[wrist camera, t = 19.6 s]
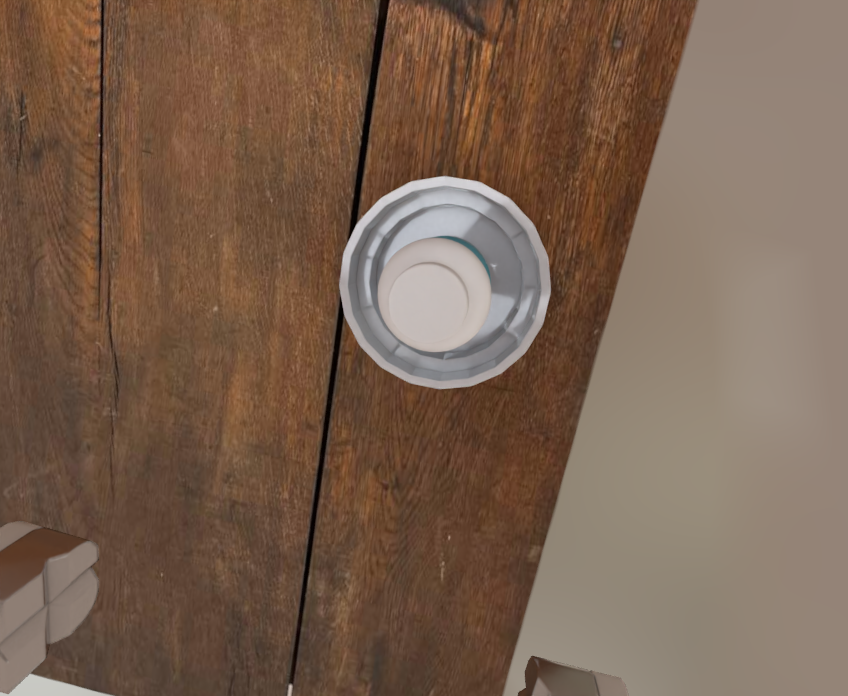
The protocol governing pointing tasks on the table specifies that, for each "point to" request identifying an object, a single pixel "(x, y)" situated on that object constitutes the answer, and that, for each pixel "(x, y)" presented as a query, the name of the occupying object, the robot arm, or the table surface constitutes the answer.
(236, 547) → the table surface
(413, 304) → the pill bottle
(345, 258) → the faceted round dish
